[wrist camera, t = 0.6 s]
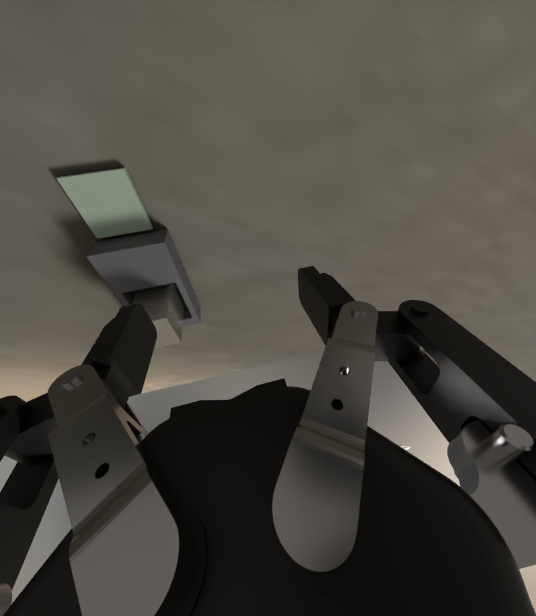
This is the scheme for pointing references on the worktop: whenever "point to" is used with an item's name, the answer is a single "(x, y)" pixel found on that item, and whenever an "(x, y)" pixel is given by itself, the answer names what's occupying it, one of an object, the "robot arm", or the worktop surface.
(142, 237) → the grey holder tray
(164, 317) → the beige rectangular block
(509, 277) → the worktop surface
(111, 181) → the mat
